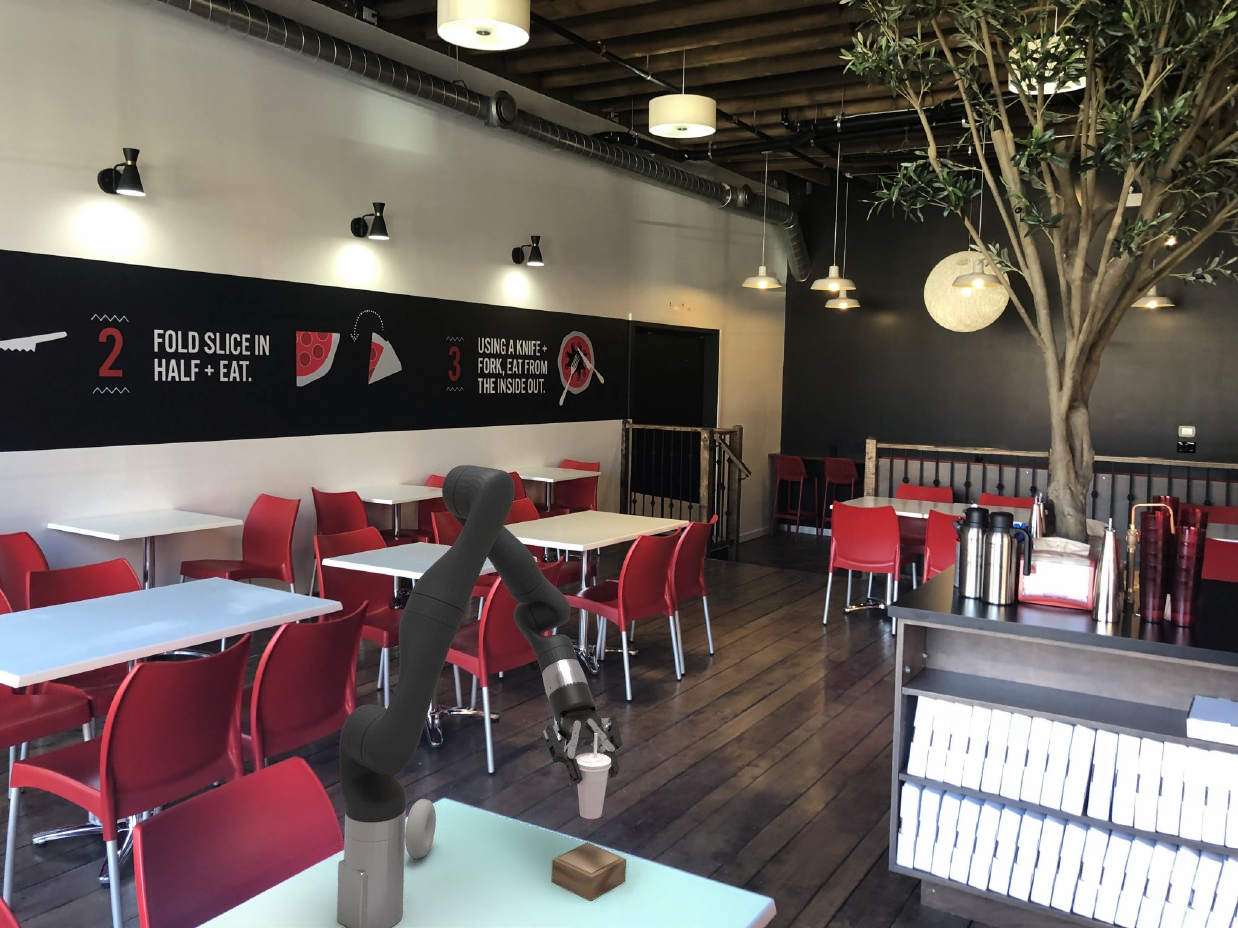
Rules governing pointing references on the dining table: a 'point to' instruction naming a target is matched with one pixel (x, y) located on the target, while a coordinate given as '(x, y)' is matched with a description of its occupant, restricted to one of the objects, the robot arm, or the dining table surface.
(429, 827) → the donut
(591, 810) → the smoothie
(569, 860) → the base
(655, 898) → the dining table surface
